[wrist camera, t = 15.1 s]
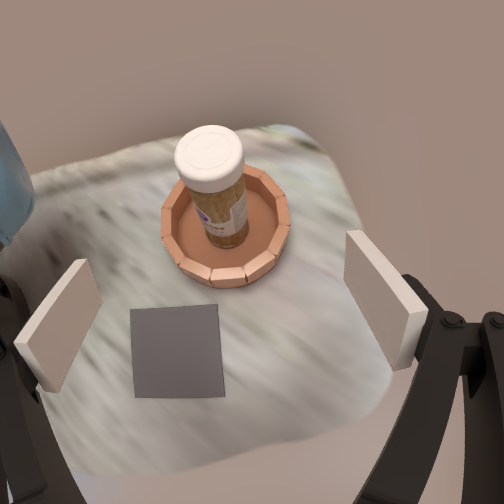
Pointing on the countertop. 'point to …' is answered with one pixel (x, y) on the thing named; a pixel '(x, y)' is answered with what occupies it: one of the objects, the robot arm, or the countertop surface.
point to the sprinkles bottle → (215, 182)
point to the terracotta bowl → (236, 258)
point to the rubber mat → (176, 352)
